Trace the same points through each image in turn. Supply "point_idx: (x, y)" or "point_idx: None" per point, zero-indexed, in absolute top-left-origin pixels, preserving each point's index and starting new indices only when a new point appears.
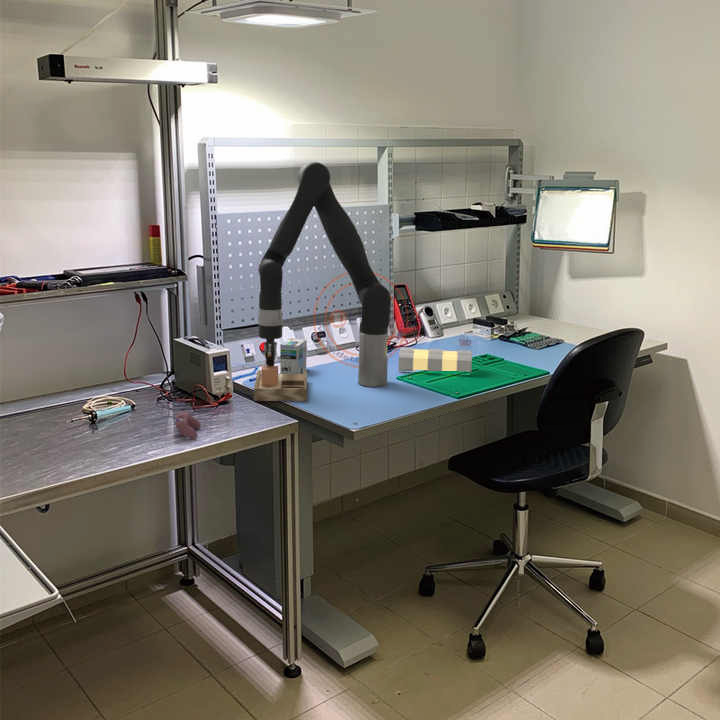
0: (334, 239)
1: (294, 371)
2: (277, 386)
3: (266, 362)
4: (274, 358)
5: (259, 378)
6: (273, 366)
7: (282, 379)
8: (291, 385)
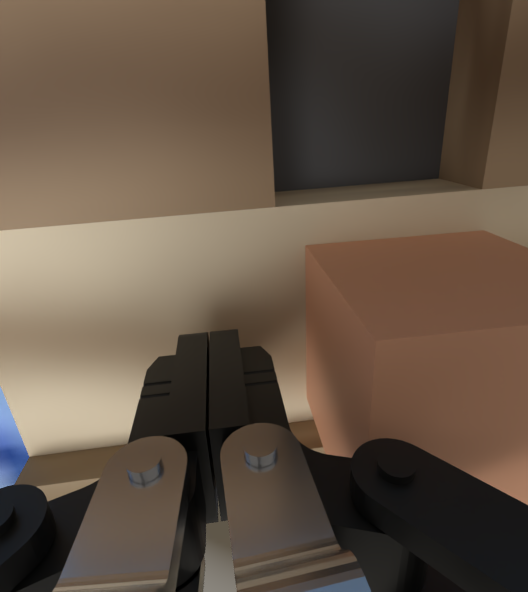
0: None
1: None
2: (523, 226)
3: (443, 575)
4: (80, 529)
5: (316, 439)
6: (416, 412)
7: (224, 202)
8: (511, 47)
